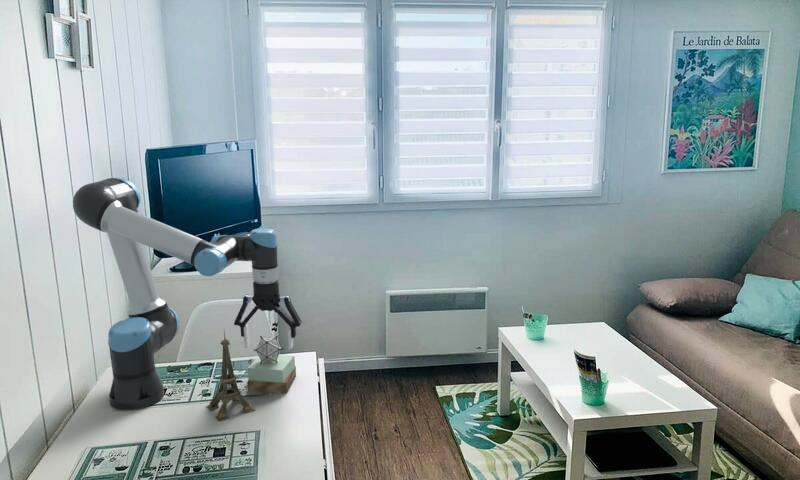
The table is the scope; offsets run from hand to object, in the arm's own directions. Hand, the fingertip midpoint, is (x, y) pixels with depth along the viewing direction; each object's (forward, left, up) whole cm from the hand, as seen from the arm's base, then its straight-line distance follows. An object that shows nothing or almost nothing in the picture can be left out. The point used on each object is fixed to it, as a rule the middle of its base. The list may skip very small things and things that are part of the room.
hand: (269, 346), depth 200 cm
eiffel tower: (-8, -16, -13) cm, 22 cm away
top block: (0, 0, -9) cm, 9 cm away
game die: (0, 0, -5) cm, 5 cm away
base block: (0, 0, -13) cm, 13 cm away
